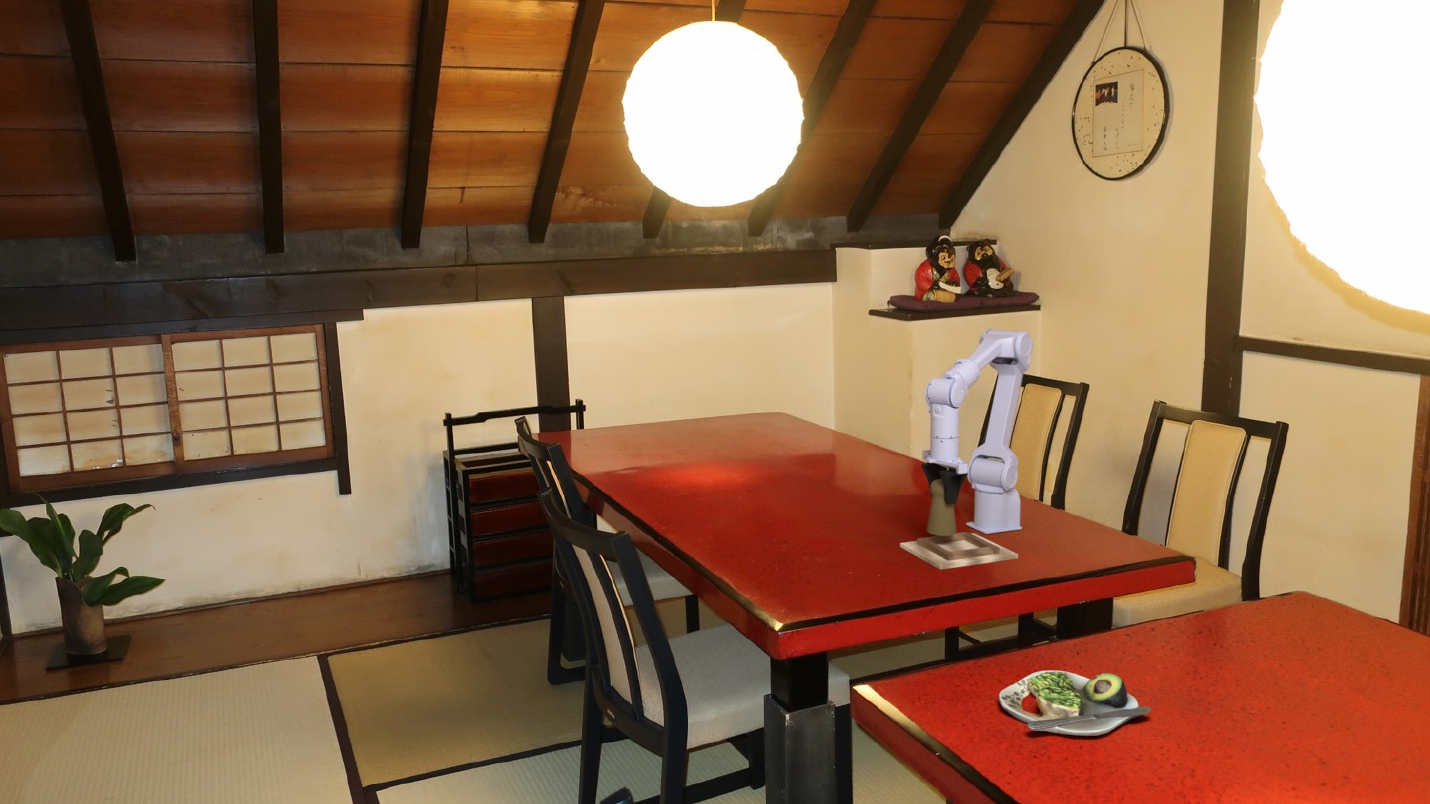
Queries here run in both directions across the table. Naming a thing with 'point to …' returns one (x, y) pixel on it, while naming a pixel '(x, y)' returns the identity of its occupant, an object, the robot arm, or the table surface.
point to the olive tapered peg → (940, 512)
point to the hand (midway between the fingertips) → (943, 500)
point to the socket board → (957, 550)
